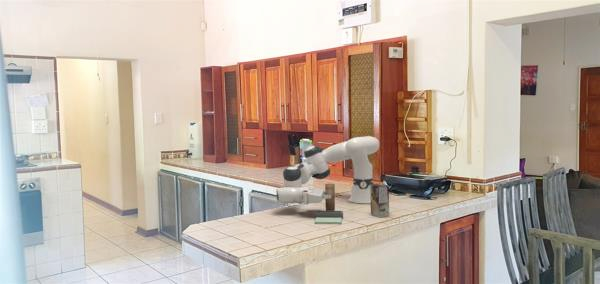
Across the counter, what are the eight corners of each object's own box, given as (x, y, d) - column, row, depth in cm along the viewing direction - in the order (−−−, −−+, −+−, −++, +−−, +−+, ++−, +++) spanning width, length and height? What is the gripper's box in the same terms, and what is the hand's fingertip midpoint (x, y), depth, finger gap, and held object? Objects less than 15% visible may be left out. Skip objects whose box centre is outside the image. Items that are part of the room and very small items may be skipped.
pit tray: (316, 216, 242) (316, 210, 242) (343, 216, 241) (343, 210, 240) (315, 218, 237) (315, 212, 237) (342, 218, 236) (342, 212, 235)
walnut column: (325, 209, 249) (325, 183, 248) (335, 209, 249) (334, 183, 248) (325, 211, 244) (324, 185, 243) (334, 211, 244) (334, 185, 243)
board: (316, 219, 235) (316, 217, 235) (341, 219, 234) (341, 217, 234) (314, 223, 226) (314, 221, 226) (341, 224, 225) (341, 222, 225)
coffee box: (389, 216, 239) (389, 185, 237) (378, 217, 236) (378, 186, 235) (380, 212, 247) (380, 183, 246) (370, 214, 245) (369, 184, 244)
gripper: (308, 197, 258) (332, 197, 256) (303, 205, 238) (330, 205, 236) (307, 186, 258) (332, 186, 256) (303, 192, 237) (330, 193, 236)
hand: (331, 195), depth 246 cm, fingers closed on walnut column, 5 cm apart
